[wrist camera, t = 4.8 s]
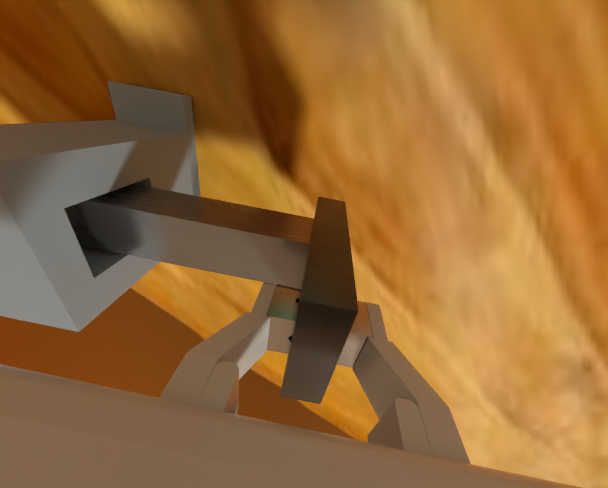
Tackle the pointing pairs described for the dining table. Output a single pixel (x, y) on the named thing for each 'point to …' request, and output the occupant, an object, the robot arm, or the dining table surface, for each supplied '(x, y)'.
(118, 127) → the bearing block
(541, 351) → the dining table surface
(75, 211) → the shaft
